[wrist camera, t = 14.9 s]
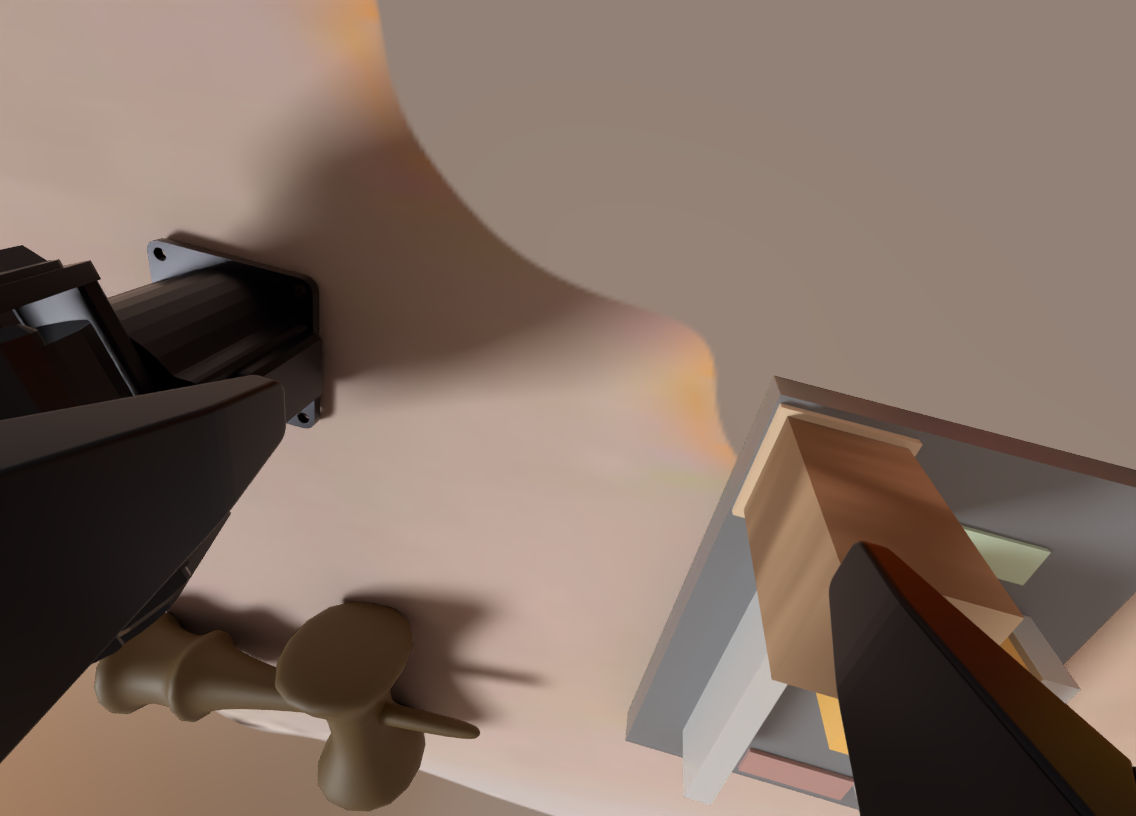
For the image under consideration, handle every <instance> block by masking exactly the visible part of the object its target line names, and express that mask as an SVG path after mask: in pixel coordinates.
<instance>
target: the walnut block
mask: <svg viewBox="0 0 1136 816" xmlns="http://www.w3.org/2000/svg"><path fill="white" fill-rule="evenodd" d="M744 515H745V521H746V527H747V533H748V539H749V545H750V551H751V557H752V563H753V569H754V575H755V581H756V588H757V594H758V600H759V606H760V612H761V618H762V624H763V630H764V636H765V642H766V648H767V654H768V660H769V666H770V672H771V678H772V680H775V681H778V682H781V683H785V684H788V685H792V686H795V687H799V688H802V689H806V690H809V691H812V692H816V693H819V694H823V695H826V696H830V697H833V698H837V699H838V696H837V690H836V681H835V671H834V658H833V645H832V632H831V619H830V606H829V586H830V582H831V579H832V577H833V575H834V574H835V572H836V570H837V569H838V567H839V566H840V564H841V562H842V561H843V559H844V557H845V556H846V554H847V552H848V551H849V549H850V548H851V546H852V545H853V544H854V543H855V542H857V541H861V540H862V541H866V542H870V543H874V544H878V545H881V546H885V547H887V548H889V549H890V550H891V551H892V552H893V553H895V554H896V555H897V556H898V557H899V558H900V559H901V560H903V561H904V562H905V563H906V564H907V565H908V566H909V567H911V568H912V569H913V570H914V571H915V572H916V573H917V574H918V575H920V576H921V577H922V578H923V579H924V580H925V581H926V582H928V583H929V584H930V585H931V586H932V587H933V588H934V589H936V590H937V591H938V592H939V593H940V594H941V595H942V596H944V597H945V598H946V599H947V600H948V601H949V602H950V603H952V604H953V605H954V606H955V607H956V608H957V609H958V610H960V611H961V612H962V613H963V614H964V615H965V616H966V617H967V618H969V619H970V620H971V621H972V622H973V623H974V624H975V625H977V626H978V627H979V628H980V629H981V630H982V631H983V632H985V633H986V634H987V635H988V636H989V637H990V638H991V639H993V640H994V641H995V642H996V643H997V644H998V645H999V646H1000V645H1001V644H1002V643H1003V642H1004V640H1005V639H1006V638H1007V637H1008V636H1009V635H1010V634H1011V633H1012V632H1013V630H1014V629H1015V628H1016V627H1017V626H1018V625H1019V624H1020V623H1021V621H1022V620H1023V619H1024V617H1023V615H1022V614H1021V612H1020V611H1019V609H1018V608H1017V606H1016V605H1015V603H1014V602H1013V601H1012V599H1011V598H1010V596H1009V595H1008V593H1007V592H1006V590H1005V589H1004V587H1003V586H1002V584H1001V583H1000V581H999V580H998V579H997V577H996V576H995V574H994V573H993V571H992V570H991V568H990V567H989V565H988V564H987V562H986V561H985V559H984V558H983V556H982V555H981V554H980V552H979V551H978V549H977V548H976V546H975V545H974V543H973V542H972V540H971V539H970V537H969V536H968V534H967V533H966V532H965V530H964V529H963V527H962V526H961V524H960V523H959V521H958V520H957V518H956V517H955V515H954V514H953V512H952V511H951V510H950V508H949V507H948V505H947V504H946V502H945V501H944V499H943V498H942V496H941V495H940V493H939V492H938V490H937V489H936V488H935V486H934V485H933V483H932V482H931V480H930V479H929V477H928V476H927V474H926V473H925V471H924V470H923V468H922V467H921V466H920V464H919V463H918V461H917V460H916V458H915V457H914V455H913V454H912V452H911V451H910V449H908V448H905V447H901V446H897V445H893V444H890V443H886V442H882V441H878V440H875V439H871V438H867V437H863V436H860V435H856V434H852V433H848V432H845V431H841V430H837V429H834V428H830V427H826V426H822V425H819V424H815V423H811V422H807V421H804V420H800V419H796V418H792V417H789V416H787V418H786V420H785V422H784V424H783V427H782V429H781V431H780V433H779V435H778V437H777V439H776V441H775V444H774V446H773V448H772V450H771V452H770V454H769V456H768V459H767V461H766V463H765V465H764V467H763V469H762V471H761V473H760V476H759V478H758V480H757V482H756V484H755V486H754V488H753V491H752V493H751V495H750V497H749V499H748V501H747V503H746V505H745V508H744Z"/></svg>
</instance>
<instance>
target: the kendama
mask: <svg viewBox="0 0 1136 816" xmlns="http://www.w3.org/2000/svg"><path fill="white" fill-rule="evenodd" d="M412 645H413V643H412V636H411V629H410V624H409V622H408V621H407V620H406V619H405V618H404V617H403V616H402V615H401V614H400V613H399V612H398V611H397V610H396V609H393V608H389V607H385V606H381V605H378V604H374V603H360V602H349V603H345V604H341V605H337V606H333V607H329V608H327V609H326V610H324V611H322V612H321V613H319V614H318V615H316V616H314V617H313V618H311V619H309V620H308V621H307V622H306V623H305V624H304V625H303V626H302V627H301V628H300V629H299V630H298V631H297V632H296V633H295V634H294V635H293V636H292V637H291V638H290V639H289V641H288V642H287V644H286V646H285V648H284V650H283V652H282V654H281V655H280V657H279V659H278V661H277V667H274V666H272V665H269V664H267V663H264V662H262V661H260V660H258V659H256V658H253V657H251V656H249V655H248V654H246V653H244V652H242V651H241V650H239V649H238V648H237V646H236V643H235V641H234V640H233V638H232V637H231V636H230V634H229V633H227V632H224V631H221V630H215V631H212V632H210V633H207V634H205V635H196V634H193V633H190V632H188V631H186V630H184V629H183V628H182V626H181V625H180V624H179V622H178V621H177V619H176V618H175V617H174V616H173V615H172V614H169V613H164V614H163V615H162V616H161V617H160V618H159V619H158V620H157V621H155V622H154V623H153V624H152V625H150V626H149V627H148V628H146V629H145V630H144V631H143V632H141V633H140V634H138V635H137V636H135V637H134V638H132V639H131V640H129V641H128V642H126V643H125V644H123V646H122V647H121V649H120V650H118V651H117V652H116V653H114V654H112V655H110V656H108V657H106V658H103V659H101V660H100V661H99V664H98V665H97V668H96V676H95V684H94V689H95V692H96V695H97V699H98V702H99V703H100V704H101V705H102V706H103V707H105V709H107V710H108V711H109V712H111V713H119V714H129V713H132V712H134V711H136V710H138V709H140V708H142V707H144V706H146V705H148V704H159V705H164V706H167V707H170V710H171V711H172V712H173V713H174V714H175V715H176V716H177V717H178V718H179V720H181V721H189V722H196V721H198V720H199V719H201V718H203V717H204V716H206V715H208V714H210V712H211V711H215V710H223V709H260V710H279V711H292V712H303V713H306V714H308V715H311V716H313V717H317V718H322V719H326V720H327V722H328V724H329V727H330V730H331V735H330V736H329V738H328V739H327V742H326V744H325V747H324V749H323V752H322V754H321V757H320V759H319V762H318V786H319V788H320V789H321V791H322V792H323V794H324V795H325V797H326V798H327V800H328V801H330V802H331V803H334V804H336V805H338V806H339V807H342V808H344V809H346V810H352V811H371V810H374V809H377V808H380V807H383V806H386V805H388V804H390V803H392V802H393V801H394V800H395V799H396V798H397V797H398V796H399V795H400V794H402V793H403V792H404V791H405V790H406V789H407V788H408V787H409V785H410V783H411V781H412V780H413V778H414V776H415V775H416V773H417V771H418V769H419V768H420V764H421V760H422V756H423V752H424V748H425V737H424V733H430V734H435V735H441V736H447V737H454V738H464V739H474V738H477V737H478V736H479V735H480V731H479V729H478V728H477V727H476V726H474V725H472V724H469V723H467V722H464V721H460V720H457V719H454V718H450V717H446V716H442V715H438V714H434V713H430V712H426V711H422V710H418V709H414V708H410V707H406V706H401V705H399V704H397V703H396V702H394V701H393V699H392V697H391V693H390V689H391V688H392V686H393V685H394V683H395V682H396V680H397V679H398V678H399V676H400V675H401V673H402V672H403V670H404V669H405V667H406V664H407V661H408V657H409V654H410V651H411V648H412Z"/></svg>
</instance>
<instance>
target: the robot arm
mask: <svg viewBox="0 0 1136 816" xmlns="http://www.w3.org/2000/svg"><path fill="white" fill-rule="evenodd" d="M162 249H163V251H164V252H165V254H166V256H165V255H164V254H163V252H162ZM147 252H148V258H149V265H150V271H151V277H152V283H151V284H148V285H145V286H142V287H139V288H136V289H133V290H130V291H127V292H124V293H121V294H118V295H115V296H112V297H109V298H107V297H106V295H105V293H104V292H103V290H102V288H101V286H100V284H99V283H98V281H97V280H100V279H101V278H100V276H99V274H98V273H97V271H96V269H95V267H94V265H93V264H92V262H91V260H90V261H85V262H80V263H75V264H70V265H65V266H63V265H62V263H61V261H60V260H59V259H58V260H53V261H51V260H49V261H47V260H45V259H44V258H42V257H40V256H39V255H37V254H36V253H34V252H32V251H31V250H29V249H28V248H26V247H24V246H23V245H21V246H16V247H12V248H7V249H2V250H0V763H1V762H2V761H3V760H4V759H5V758H6V757H7V756H8V755H9V754H10V752H11V751H12V750H13V749H14V748H15V747H16V746H17V745H18V744H19V743H20V741H21V740H22V739H23V738H24V737H25V736H26V735H27V734H28V733H29V732H30V731H31V729H32V728H33V727H34V726H35V725H36V724H37V723H38V722H39V721H40V720H41V718H42V717H43V716H44V715H45V714H46V713H47V712H48V711H49V710H50V709H51V707H52V706H53V705H54V704H55V703H56V702H57V701H58V700H59V699H60V698H61V696H62V695H63V694H64V693H65V692H66V691H67V690H68V689H69V688H70V687H71V685H72V684H73V683H74V682H75V681H76V680H77V679H78V678H79V677H80V676H81V675H82V674H83V672H84V671H85V670H86V669H87V668H88V667H89V666H90V665H91V664H93V663H95V662H97V661H99V660H101V659H103V658H106V657H108V656H110V655H112V654H114V653H116V652H117V651H118V650H120V649H121V647H122V646H123V644H125V643H126V642H128V641H129V640H131V639H132V638H134V637H135V636H137V635H138V634H140V633H141V632H143V631H144V630H145V629H146V628H148V627H149V626H150V625H152V624H153V623H154V622H155V621H157V620H158V619H159V618H160V617H161V616H162V615H163V614H164V613H165V612H166V611H167V610H168V609H169V608H170V607H171V606H172V604H173V603H174V602H175V601H176V599H177V598H178V597H179V595H180V594H181V592H182V591H183V589H184V587H185V586H186V584H187V583H188V581H189V579H190V578H191V576H192V575H193V573H194V571H195V570H196V568H197V567H198V565H199V563H200V562H201V560H202V559H203V557H204V556H205V554H206V552H207V551H208V549H209V548H210V546H211V544H212V543H213V541H214V540H215V538H216V536H217V535H218V533H219V532H220V530H221V528H222V527H223V525H224V524H225V522H226V520H227V519H228V517H229V516H230V514H231V512H230V510H231V509H232V507H233V506H234V505H235V504H236V502H237V501H238V500H239V498H240V497H241V495H242V494H243V493H244V491H245V490H246V489H247V487H248V486H249V485H250V483H251V482H252V480H253V479H254V478H255V476H256V475H257V474H258V472H259V471H260V470H261V468H262V467H263V465H264V464H265V463H266V461H267V460H268V459H269V457H270V456H271V454H272V453H273V452H274V450H275V449H276V448H277V446H278V445H279V444H280V442H281V440H282V439H283V436H284V434H285V429H286V423H287V424H291V425H295V426H298V427H302V428H311V427H312V426H313V425H315V424H316V423H317V422H318V421H319V418H320V395H321V394H322V392H323V386H322V339H321V337H320V335H319V291H318V286H317V284H316V283H315V281H314V280H313V279H312V278H310V277H308V276H306V275H303V274H299V273H295V272H291V271H287V270H284V269H280V268H276V267H272V266H268V265H265V264H261V263H257V262H253V261H249V260H246V259H242V258H238V257H234V256H230V255H227V254H223V253H219V252H215V251H211V250H208V249H204V248H200V247H196V246H192V245H189V244H185V243H181V242H177V241H173V240H170V239H163V238H161V239H158V240H154V241H151V242H149V244H148V246H147ZM300 285H301V286H303V287H304V288H305V289H306V295H305V294H304V293H302V291H301V290H300V287H299V286H300ZM303 413H305V414H306V415H307V416H308V417H309V418H307V417H305V416H304V414H303ZM829 606H830V619H831V632H832V645H833V658H834V671H835V681H836V690H837V696H838V702H839V708H840V713H841V718H842V723H843V728H844V734H845V739H846V744H847V749H848V754H849V760H850V765H851V770H852V775H853V780H854V786H855V791H856V796H857V801H858V806H859V812H860V816H1136V767H1132V763H1131V761H1130V760H1129V759H1128V758H1127V757H1126V756H1125V755H1124V754H1123V753H1121V752H1120V751H1119V750H1118V749H1117V748H1116V747H1115V746H1113V745H1112V744H1111V743H1110V742H1109V741H1108V740H1107V739H1105V738H1104V737H1103V736H1102V735H1101V734H1100V733H1099V732H1097V731H1096V730H1095V729H1094V728H1093V727H1092V726H1091V725H1089V724H1088V723H1087V722H1086V721H1085V720H1084V719H1083V718H1081V717H1080V716H1079V715H1078V714H1077V713H1076V712H1075V711H1073V710H1072V709H1071V708H1070V707H1069V706H1068V705H1067V704H1066V703H1064V702H1063V701H1062V700H1061V699H1060V698H1059V697H1058V696H1056V695H1055V694H1054V693H1053V692H1052V691H1051V690H1050V689H1048V688H1047V687H1046V686H1045V685H1044V684H1043V683H1042V682H1040V681H1039V680H1038V679H1037V678H1036V677H1035V676H1034V675H1032V674H1031V673H1030V672H1029V671H1028V670H1027V669H1026V668H1024V667H1023V666H1022V665H1021V664H1020V663H1019V662H1018V661H1017V660H1015V659H1014V658H1013V657H1012V656H1011V655H1010V654H1009V653H1007V652H1006V651H1005V650H1004V649H1003V648H1002V647H1001V646H999V645H998V644H997V643H996V642H995V641H994V640H993V639H991V638H990V637H989V636H988V635H987V634H986V633H985V632H983V631H982V630H981V629H980V628H979V627H978V626H977V625H975V624H974V623H973V622H972V621H971V620H970V619H969V618H967V617H966V616H965V615H964V614H963V613H962V612H961V611H960V610H958V609H957V608H956V607H955V606H954V605H953V604H952V603H950V602H949V601H948V600H947V599H946V598H945V597H944V596H942V595H941V594H940V593H939V592H938V591H937V590H936V589H934V588H933V587H932V586H931V585H930V584H929V583H928V582H926V581H925V580H924V579H923V578H922V577H921V576H920V575H918V574H917V573H916V572H915V571H914V570H913V569H912V568H911V567H909V566H908V565H907V564H906V563H905V562H904V561H903V560H901V559H900V558H899V557H898V556H897V555H896V554H895V553H893V552H892V551H891V550H890V549H889V548H887V547H885V546H881V545H878V544H874V543H870V542H866V541H862V540H861V541H857V542H855V543H854V544H853V545H852V546H851V548H850V549H849V551H848V552H847V554H846V556H845V557H844V559H843V561H842V562H841V564H840V566H839V567H838V569H837V570H836V572H835V574H834V575H833V577H832V579H831V582H830V586H829Z"/></svg>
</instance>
